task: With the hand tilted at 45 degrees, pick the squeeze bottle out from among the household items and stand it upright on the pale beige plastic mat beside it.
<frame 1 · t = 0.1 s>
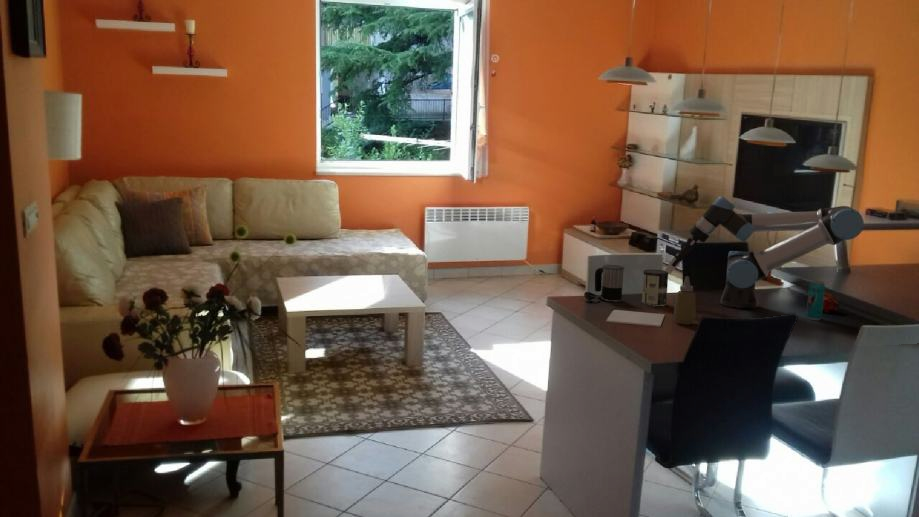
hand: (668, 269, 336), 15 cm above the worktop, tool tilted 35°, fingers open, 13 cm apart
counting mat: (636, 318, 313), on the worktop
beverage can: (813, 319, 320), on the worktop
squeeze bottle: (684, 323, 308), on the worktop
dragon fruit: (825, 311, 335), on the worktop
milk frother: (603, 301, 346), on the worktop
coffee can: (653, 304, 341), on the worktop
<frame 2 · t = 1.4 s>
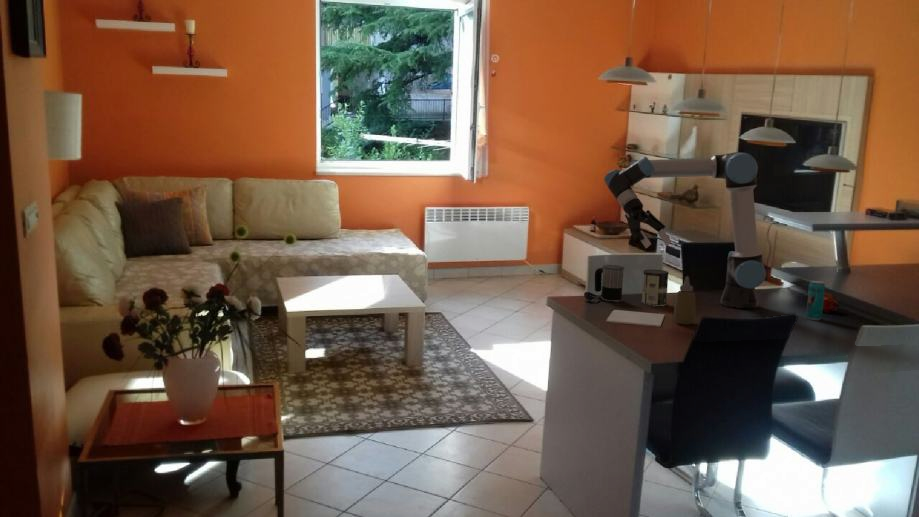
hand: (659, 245, 317), 28 cm above the worktop, tool tilted 45°, fingers open, 13 cm apart
nothing on the worktop moved.
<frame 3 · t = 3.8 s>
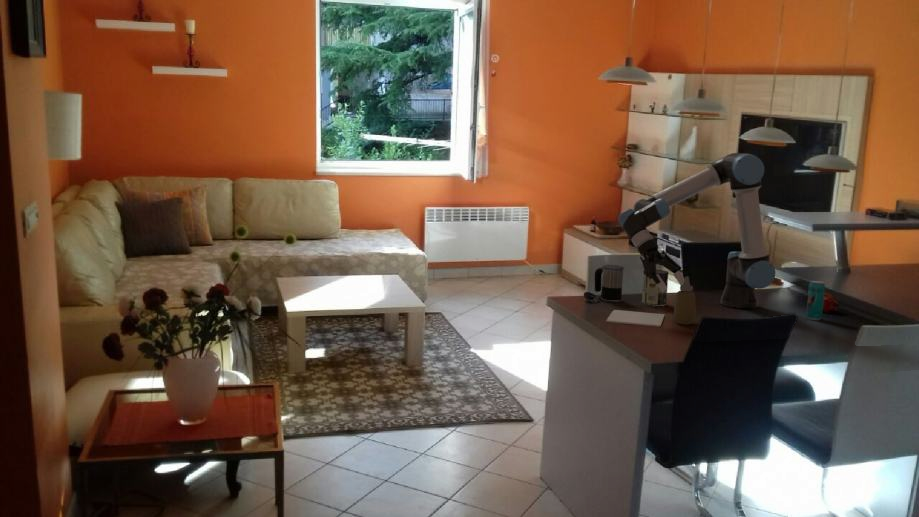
hand: (675, 288, 308), 13 cm above the worktop, tool tilted 45°, fingers open, 13 cm apart
nothing on the worktop moved.
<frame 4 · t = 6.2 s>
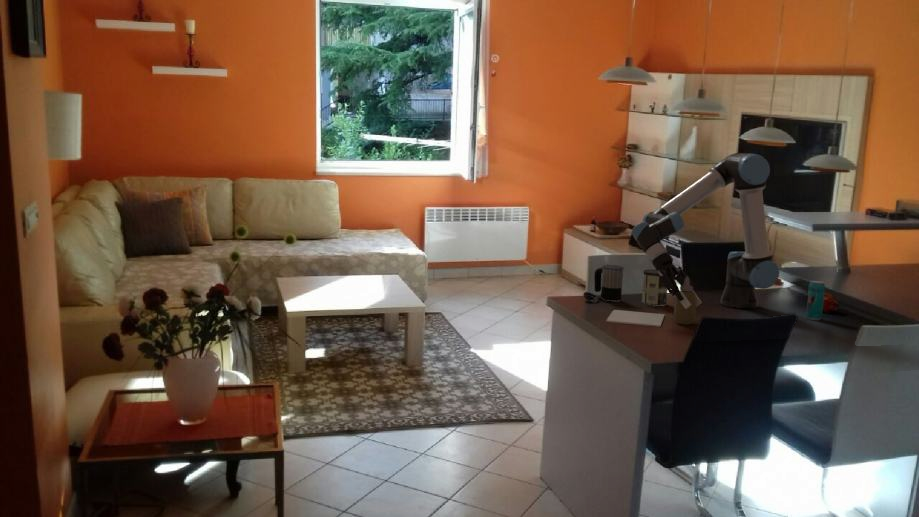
hand: (693, 305, 304), 7 cm above the worktop, tool tilted 45°, fingers closed on squeeze bottle, 6 cm apart
squeeze bottle: (684, 323, 308), on the worktop, touching gripper
everything else where it was.
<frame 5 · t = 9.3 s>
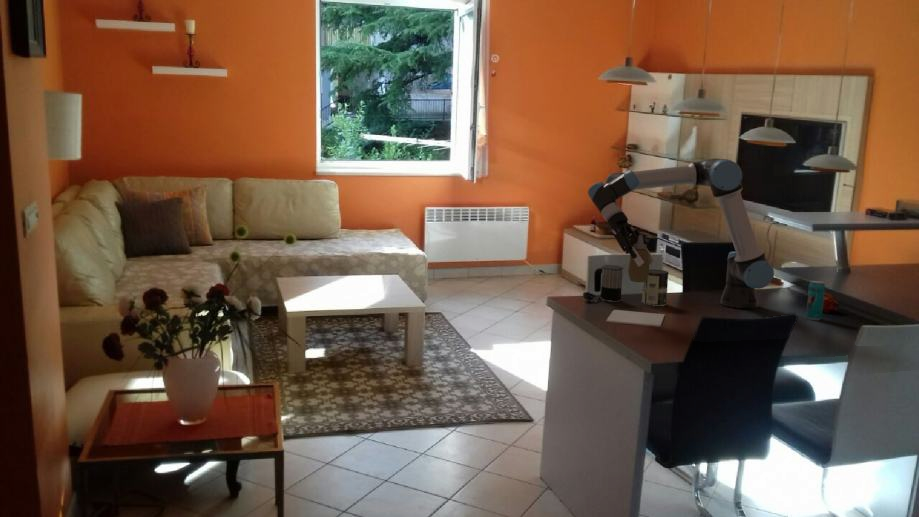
hand: (647, 263, 307), 22 cm above the worktop, tool tilted 45°, fingers closed on squeeze bottle, 6 cm apart
squeeze bottle: (638, 281, 311), point 15 cm above the worktop, touching gripper
everything else where it was.
when the fingers open (9 cm above the worktop, at t = 12.5 s): squeeze bottle drops 1 cm, resting on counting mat.
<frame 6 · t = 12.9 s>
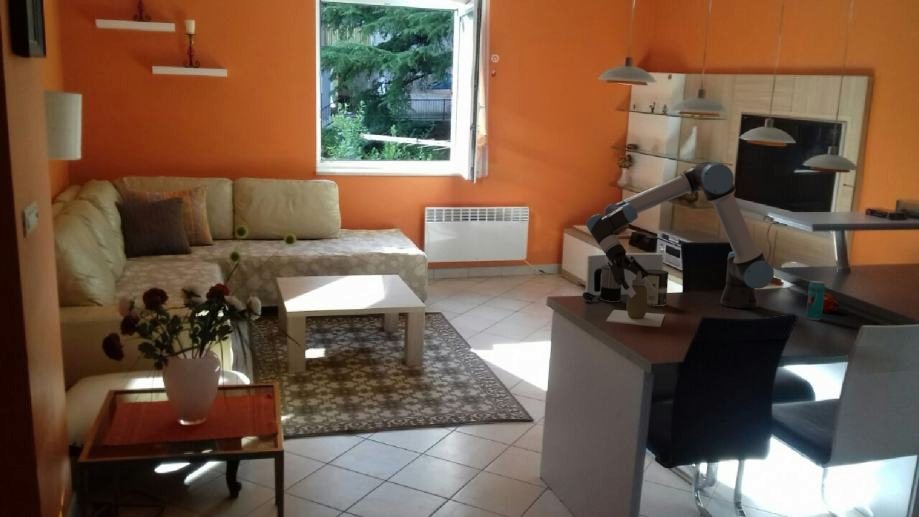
hand: (643, 293, 310), 10 cm above the worktop, tool tilted 45°, fingers open, 11 cm apart
squeeze bottle: (636, 317, 313), resting on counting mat
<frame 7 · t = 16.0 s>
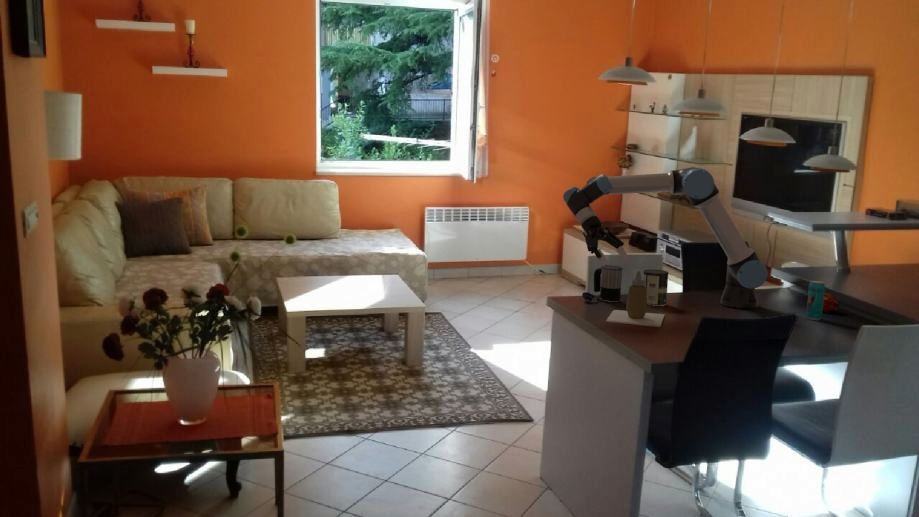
hand: (616, 262, 318), 21 cm above the worktop, tool tilted 45°, fingers open, 13 cm apart
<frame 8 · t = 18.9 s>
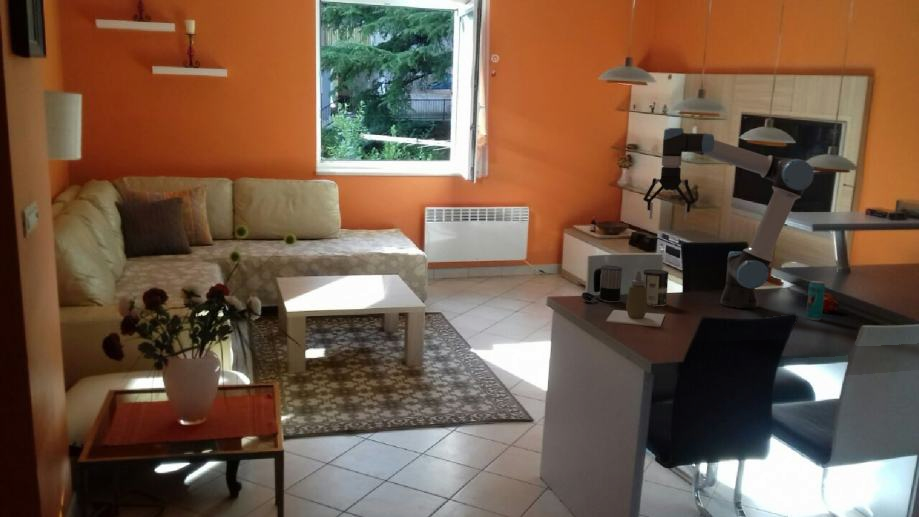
hand: (667, 219, 327), 37 cm above the worktop, tool pointing down, fingers open, 13 cm apart
at the end: squeeze bottle inside the target area on the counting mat (0.1 cm from its centre), point 0.4 cm above the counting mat's base; squeeze bottle tilted 0°; the gripper is holding nothing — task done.
